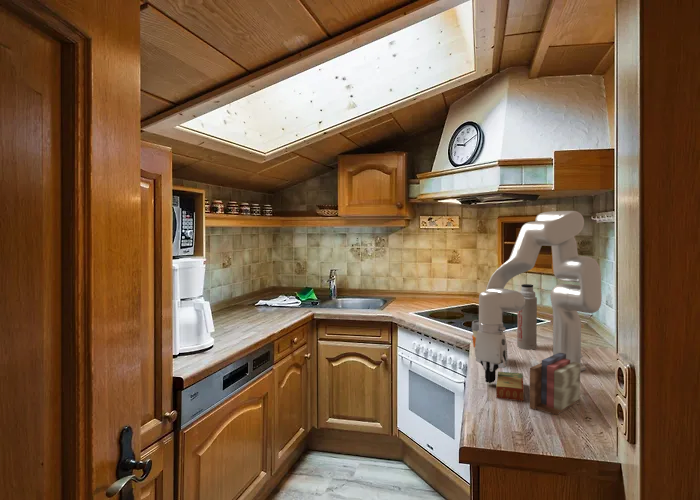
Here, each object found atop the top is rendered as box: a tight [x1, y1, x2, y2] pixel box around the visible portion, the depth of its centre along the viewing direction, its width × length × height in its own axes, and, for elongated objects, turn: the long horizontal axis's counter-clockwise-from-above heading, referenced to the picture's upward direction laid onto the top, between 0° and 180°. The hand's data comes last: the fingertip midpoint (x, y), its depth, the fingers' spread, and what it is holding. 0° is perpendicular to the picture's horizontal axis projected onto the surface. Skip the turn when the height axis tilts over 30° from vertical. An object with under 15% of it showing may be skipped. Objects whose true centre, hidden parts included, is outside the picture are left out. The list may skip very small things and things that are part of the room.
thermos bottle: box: [516, 283, 538, 350], centre depth 196 cm, size 8×8×28 cm
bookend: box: [529, 353, 581, 416], centre depth 133 cm, size 18×8×14 cm, turn 131°
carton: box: [495, 371, 525, 402], centre depth 145 cm, size 8×16×4 cm, turn 160°
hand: (490, 381), depth 151 cm, fingers closed
